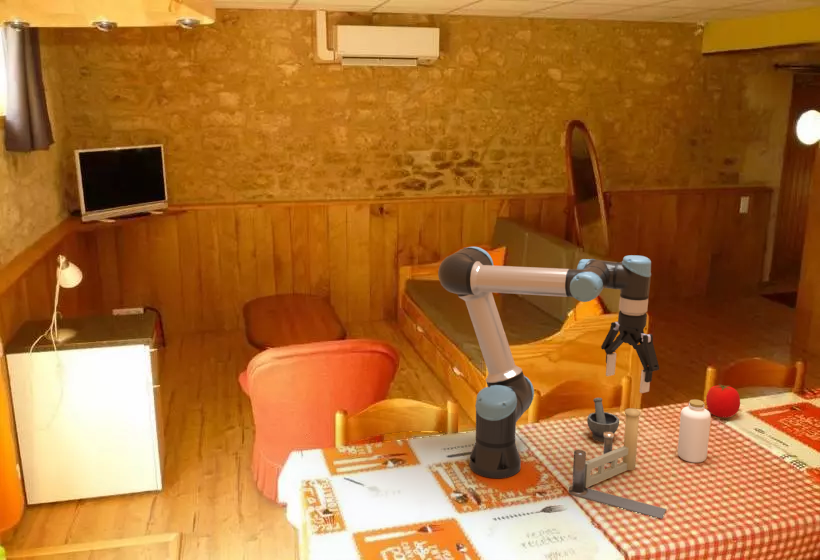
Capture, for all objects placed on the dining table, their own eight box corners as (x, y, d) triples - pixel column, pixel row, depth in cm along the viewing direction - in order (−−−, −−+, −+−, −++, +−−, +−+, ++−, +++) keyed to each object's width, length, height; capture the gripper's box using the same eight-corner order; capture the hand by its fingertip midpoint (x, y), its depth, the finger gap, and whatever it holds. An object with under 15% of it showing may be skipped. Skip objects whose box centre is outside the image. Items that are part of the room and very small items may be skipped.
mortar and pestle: (622, 443, 225) (624, 408, 222) (594, 446, 224) (596, 410, 221) (608, 428, 236) (610, 394, 233) (580, 430, 235) (582, 396, 232)
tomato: (744, 422, 239) (747, 392, 236) (712, 422, 239) (715, 392, 237) (730, 408, 249) (733, 380, 247) (700, 409, 249) (702, 380, 247)
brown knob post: (565, 493, 197) (567, 454, 194) (571, 485, 201) (573, 446, 198) (584, 498, 194) (586, 458, 192) (590, 490, 199) (592, 450, 196)
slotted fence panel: (589, 490, 197) (592, 431, 193) (578, 483, 201) (581, 425, 196) (639, 468, 208) (643, 412, 204) (627, 462, 212) (631, 407, 207)
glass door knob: (597, 461, 214) (599, 435, 212) (602, 455, 218) (603, 429, 216) (612, 464, 212) (614, 438, 210) (616, 458, 216) (618, 432, 214)
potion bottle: (676, 461, 214) (681, 405, 210) (677, 449, 221) (682, 395, 217) (706, 466, 211) (712, 409, 206) (706, 453, 218) (711, 398, 214)
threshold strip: (571, 495, 196) (571, 493, 196) (577, 486, 201) (577, 485, 200) (661, 519, 184) (661, 518, 184) (666, 510, 189) (666, 509, 188)
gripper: (677, 322, 188) (670, 396, 193) (612, 298, 210) (606, 366, 215) (656, 326, 185) (649, 402, 190) (592, 301, 206) (587, 370, 212)
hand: (626, 383), depth 203 cm, fingers open, 13 cm apart
